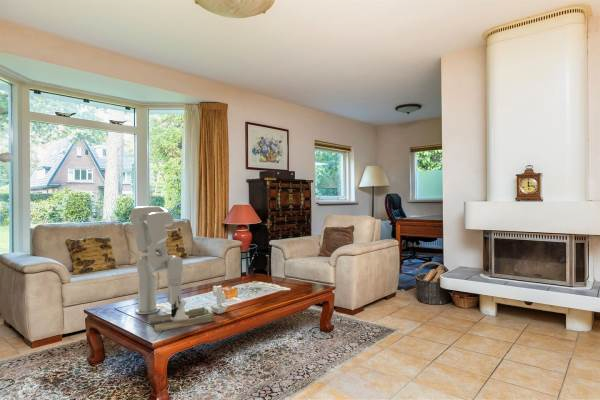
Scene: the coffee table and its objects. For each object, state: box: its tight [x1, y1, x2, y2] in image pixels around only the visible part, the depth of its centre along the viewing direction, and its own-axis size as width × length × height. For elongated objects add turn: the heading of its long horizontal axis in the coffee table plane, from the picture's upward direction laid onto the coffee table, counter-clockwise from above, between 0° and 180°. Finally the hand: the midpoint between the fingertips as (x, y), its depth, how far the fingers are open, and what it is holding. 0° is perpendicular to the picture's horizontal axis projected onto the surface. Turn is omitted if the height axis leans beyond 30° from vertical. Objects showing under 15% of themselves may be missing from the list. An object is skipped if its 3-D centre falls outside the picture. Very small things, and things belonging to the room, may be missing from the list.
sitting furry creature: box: [170, 298, 190, 322], centre depth 192 cm, size 10×9×12 cm
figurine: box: [209, 284, 228, 314], centre depth 210 cm, size 7×9×15 cm
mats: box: [149, 321, 164, 331], centre depth 187 cm, size 11×6×1 cm, turn 33°
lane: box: [148, 306, 214, 333], centre depth 193 cm, size 14×30×4 cm, turn 123°
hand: (174, 316), depth 191 cm, fingers closed
